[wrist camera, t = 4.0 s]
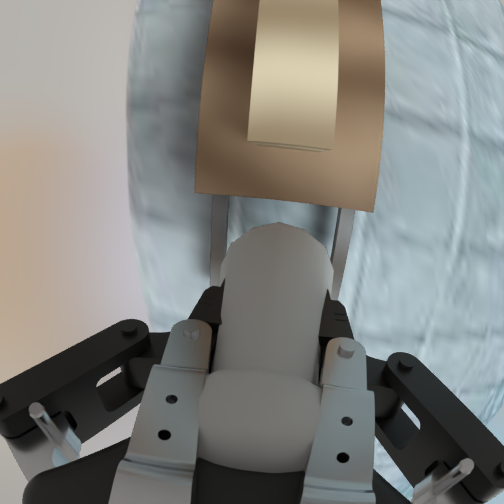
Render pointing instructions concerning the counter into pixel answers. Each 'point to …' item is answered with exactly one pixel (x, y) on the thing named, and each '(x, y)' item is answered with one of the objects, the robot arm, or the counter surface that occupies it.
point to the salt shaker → (266, 352)
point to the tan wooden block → (292, 111)
